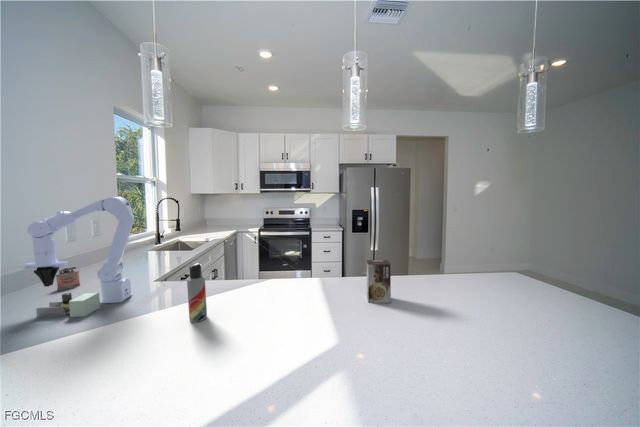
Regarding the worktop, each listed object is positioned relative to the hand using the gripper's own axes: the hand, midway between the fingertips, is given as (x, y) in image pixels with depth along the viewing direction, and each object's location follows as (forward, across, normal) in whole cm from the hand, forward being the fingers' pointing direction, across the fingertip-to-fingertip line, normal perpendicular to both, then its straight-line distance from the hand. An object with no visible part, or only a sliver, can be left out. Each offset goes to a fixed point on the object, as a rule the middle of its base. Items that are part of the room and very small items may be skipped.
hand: (48, 285), depth 99 cm
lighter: (+10, +13, -24) cm, 29 cm away
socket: (+9, -16, +5) cm, 20 cm away
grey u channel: (+9, -6, +5) cm, 12 cm away
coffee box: (+10, -131, +9) cm, 132 cm away
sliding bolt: (+8, -14, +5) cm, 17 cm away
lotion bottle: (+10, -62, +16) cm, 65 cm away
